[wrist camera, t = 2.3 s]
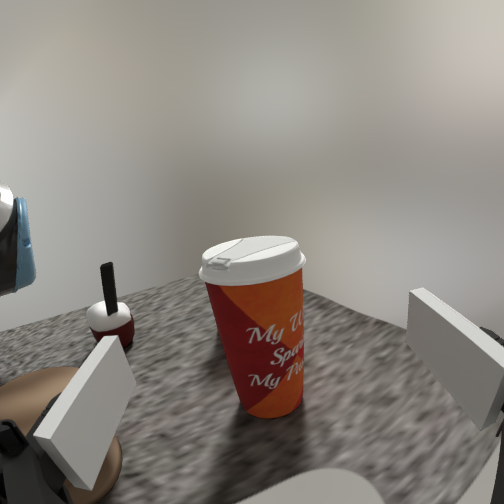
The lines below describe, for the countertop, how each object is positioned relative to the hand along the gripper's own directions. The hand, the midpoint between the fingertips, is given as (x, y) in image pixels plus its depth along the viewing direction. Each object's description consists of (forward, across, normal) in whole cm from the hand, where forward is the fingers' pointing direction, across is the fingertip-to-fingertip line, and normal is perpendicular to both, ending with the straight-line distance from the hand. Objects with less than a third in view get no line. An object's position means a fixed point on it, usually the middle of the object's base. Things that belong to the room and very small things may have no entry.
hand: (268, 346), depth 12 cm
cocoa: (+23, -20, -12) cm, 33 cm away
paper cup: (+10, 0, -12) cm, 16 cm away
